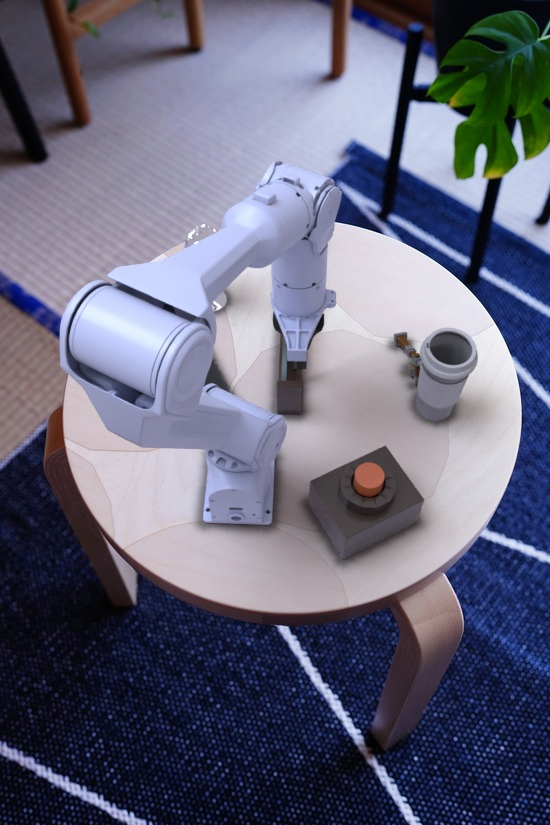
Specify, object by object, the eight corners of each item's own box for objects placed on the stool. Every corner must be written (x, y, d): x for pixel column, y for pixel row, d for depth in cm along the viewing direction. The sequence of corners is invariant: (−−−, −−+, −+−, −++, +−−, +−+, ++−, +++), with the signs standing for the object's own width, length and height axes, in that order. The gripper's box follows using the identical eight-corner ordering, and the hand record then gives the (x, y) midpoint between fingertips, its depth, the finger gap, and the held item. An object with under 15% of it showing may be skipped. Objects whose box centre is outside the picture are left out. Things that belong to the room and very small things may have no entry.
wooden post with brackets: (413, 390, 99) (414, 359, 97) (393, 361, 106) (393, 332, 104) (427, 388, 100) (427, 357, 97) (406, 359, 106) (406, 330, 104)
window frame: (300, 415, 99) (301, 387, 94) (276, 414, 99) (276, 387, 94) (304, 246, 115) (305, 215, 110) (284, 246, 115) (284, 215, 110)
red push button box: (342, 560, 88) (347, 531, 81) (308, 504, 92) (310, 472, 85) (417, 522, 90) (427, 492, 84) (380, 469, 94) (387, 436, 88)
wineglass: (184, 292, 110) (175, 229, 100) (222, 280, 112) (216, 216, 102) (199, 321, 107) (191, 258, 97) (237, 307, 109) (233, 244, 99)
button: (363, 501, 84) (364, 492, 82) (347, 478, 85) (349, 469, 84) (388, 489, 85) (390, 480, 83) (372, 467, 86) (374, 457, 84)
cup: (408, 381, 101) (422, 321, 91) (459, 385, 101) (479, 325, 91) (407, 427, 97) (421, 369, 88) (460, 431, 97) (481, 374, 87)
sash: (306, 374, 100) (307, 355, 97) (293, 374, 101) (293, 355, 97) (307, 297, 108) (308, 277, 105) (295, 297, 108) (296, 277, 105)
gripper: (337, 324, 76) (332, 399, 87) (338, 218, 83) (333, 300, 95) (265, 323, 76) (269, 398, 88) (272, 217, 84) (275, 299, 95)
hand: (298, 347), depth 91 cm, fingers closed
